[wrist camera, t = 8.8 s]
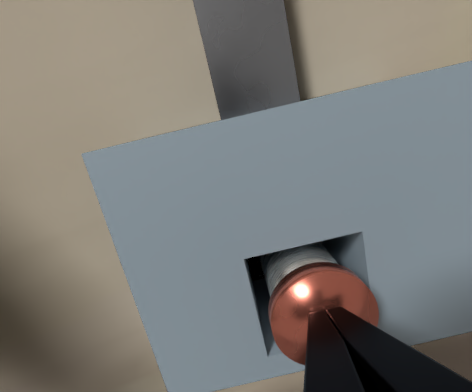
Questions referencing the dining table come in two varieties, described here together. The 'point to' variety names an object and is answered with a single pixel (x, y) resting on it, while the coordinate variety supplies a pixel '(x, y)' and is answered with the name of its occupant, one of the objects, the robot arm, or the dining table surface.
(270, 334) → the cabinet
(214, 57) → the rail
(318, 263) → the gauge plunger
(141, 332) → the dining table surface
